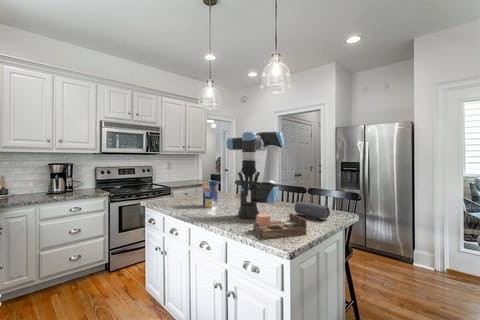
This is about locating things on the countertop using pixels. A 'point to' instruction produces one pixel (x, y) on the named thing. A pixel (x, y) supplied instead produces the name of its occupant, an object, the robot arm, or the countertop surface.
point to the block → (263, 219)
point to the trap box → (282, 228)
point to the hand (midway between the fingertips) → (248, 201)
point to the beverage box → (210, 193)
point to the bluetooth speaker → (312, 210)
